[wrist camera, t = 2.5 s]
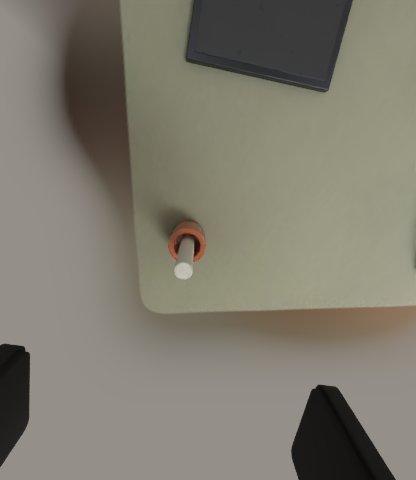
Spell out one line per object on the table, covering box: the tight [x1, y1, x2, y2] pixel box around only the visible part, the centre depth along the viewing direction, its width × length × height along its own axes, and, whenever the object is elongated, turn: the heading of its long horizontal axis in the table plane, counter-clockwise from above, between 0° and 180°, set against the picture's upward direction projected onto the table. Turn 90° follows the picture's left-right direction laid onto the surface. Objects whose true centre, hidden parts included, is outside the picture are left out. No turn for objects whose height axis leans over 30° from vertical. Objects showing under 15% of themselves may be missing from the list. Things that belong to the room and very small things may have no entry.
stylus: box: [174, 233, 195, 279], centre depth 25 cm, size 1×1×10 cm
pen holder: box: [168, 221, 206, 262], centre depth 28 cm, size 4×4×4 cm
